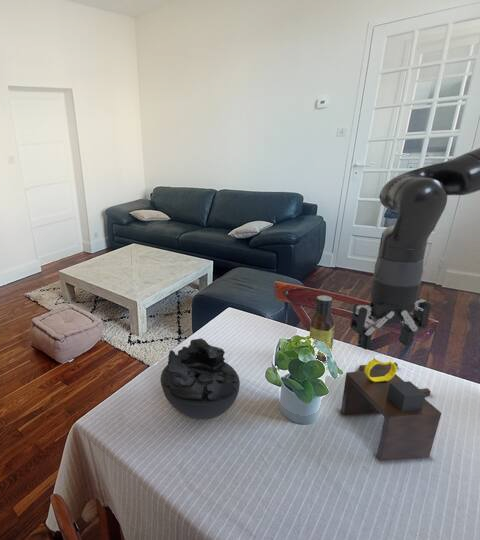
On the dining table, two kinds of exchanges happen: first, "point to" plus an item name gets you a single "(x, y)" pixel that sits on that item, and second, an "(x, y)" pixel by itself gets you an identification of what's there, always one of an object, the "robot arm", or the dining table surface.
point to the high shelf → (391, 416)
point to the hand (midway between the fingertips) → (384, 345)
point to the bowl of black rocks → (200, 381)
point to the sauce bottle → (323, 323)
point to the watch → (382, 360)
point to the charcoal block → (406, 396)
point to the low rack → (388, 366)
